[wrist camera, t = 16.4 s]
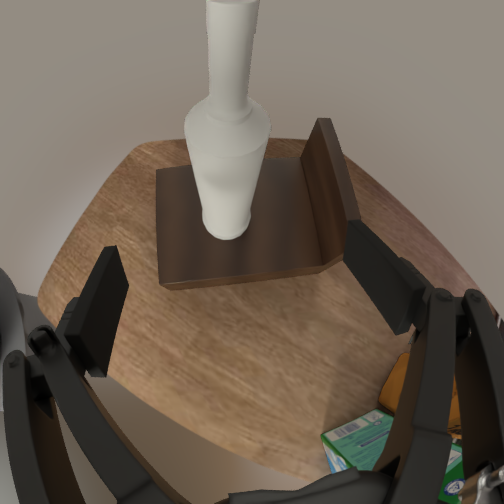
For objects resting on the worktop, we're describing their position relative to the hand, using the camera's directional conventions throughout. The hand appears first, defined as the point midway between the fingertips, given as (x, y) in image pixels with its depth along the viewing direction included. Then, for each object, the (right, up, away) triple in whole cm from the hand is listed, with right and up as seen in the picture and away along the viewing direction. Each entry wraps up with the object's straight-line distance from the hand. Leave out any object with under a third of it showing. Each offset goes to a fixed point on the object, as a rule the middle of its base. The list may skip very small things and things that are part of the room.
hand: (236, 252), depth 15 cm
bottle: (-2, +4, +16) cm, 17 cm away
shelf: (-1, +3, +22) cm, 22 cm away
